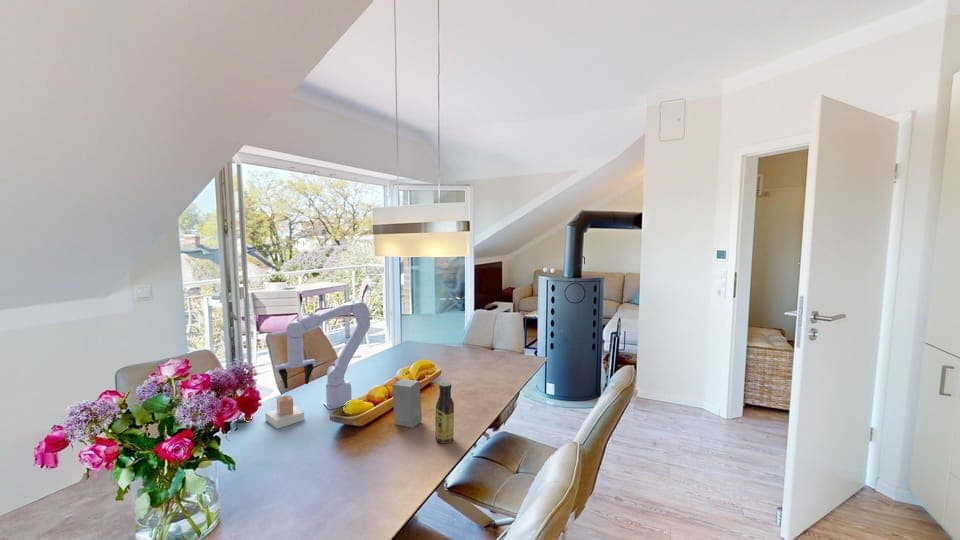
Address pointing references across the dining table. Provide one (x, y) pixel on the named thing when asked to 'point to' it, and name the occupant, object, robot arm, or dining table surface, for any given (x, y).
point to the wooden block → (285, 405)
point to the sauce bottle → (444, 414)
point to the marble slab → (284, 418)
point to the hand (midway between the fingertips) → (296, 385)
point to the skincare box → (407, 403)
